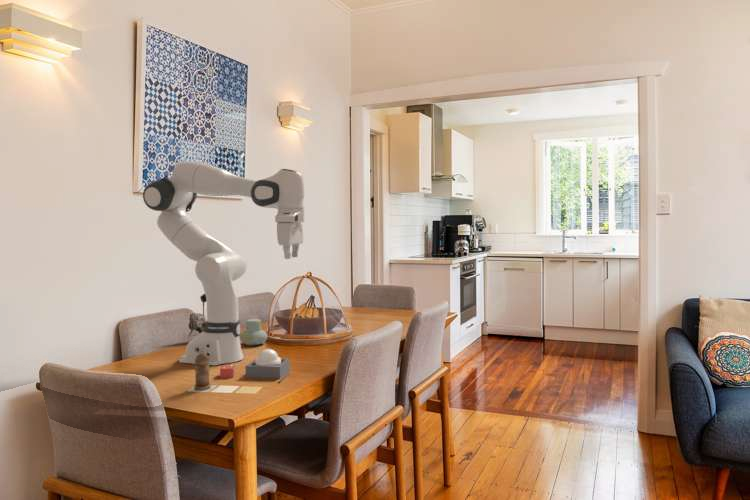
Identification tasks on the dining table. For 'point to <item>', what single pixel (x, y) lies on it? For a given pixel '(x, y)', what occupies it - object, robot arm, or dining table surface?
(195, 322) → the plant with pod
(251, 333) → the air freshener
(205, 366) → the walnut pawn
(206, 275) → the robot arm
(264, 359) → the dome
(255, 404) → the dining table surface
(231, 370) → the red die
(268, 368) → the base
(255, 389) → the game board
